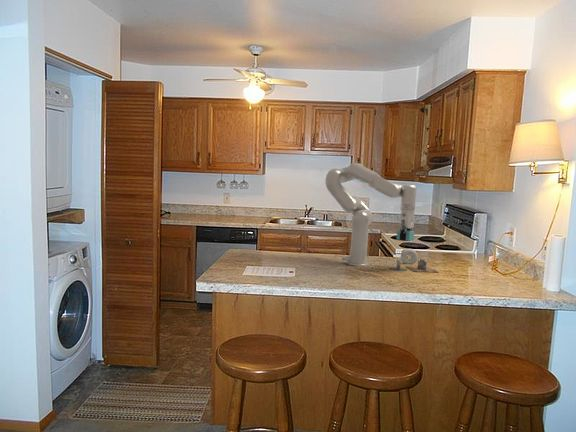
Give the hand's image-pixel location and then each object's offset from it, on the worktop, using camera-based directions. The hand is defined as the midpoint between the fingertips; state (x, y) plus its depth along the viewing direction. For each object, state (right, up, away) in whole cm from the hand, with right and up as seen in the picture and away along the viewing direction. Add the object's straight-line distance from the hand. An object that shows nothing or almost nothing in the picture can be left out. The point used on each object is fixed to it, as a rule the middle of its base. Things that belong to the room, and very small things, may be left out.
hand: (405, 239), depth 243 cm
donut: (+7, -17, +21) cm, 28 cm away
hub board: (+10, -19, +4) cm, 21 cm away
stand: (-4, -18, +2) cm, 18 cm away
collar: (0, 0, 0) cm, 0 cm away
